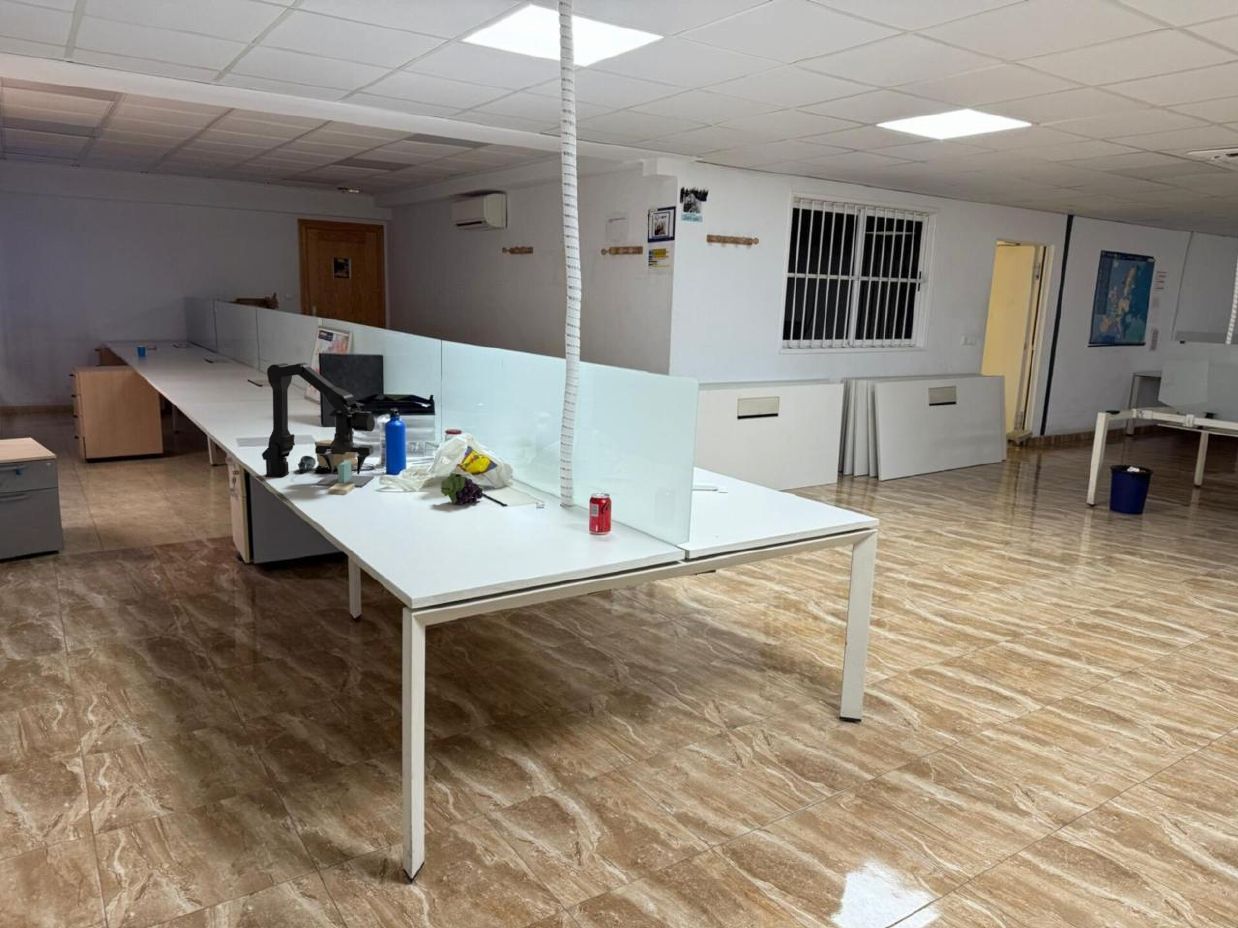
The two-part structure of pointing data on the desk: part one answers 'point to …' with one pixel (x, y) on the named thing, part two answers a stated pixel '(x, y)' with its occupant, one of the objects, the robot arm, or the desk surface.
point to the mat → (356, 480)
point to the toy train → (337, 457)
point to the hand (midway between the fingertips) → (345, 473)
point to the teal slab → (344, 471)
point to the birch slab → (341, 488)
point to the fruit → (461, 489)
